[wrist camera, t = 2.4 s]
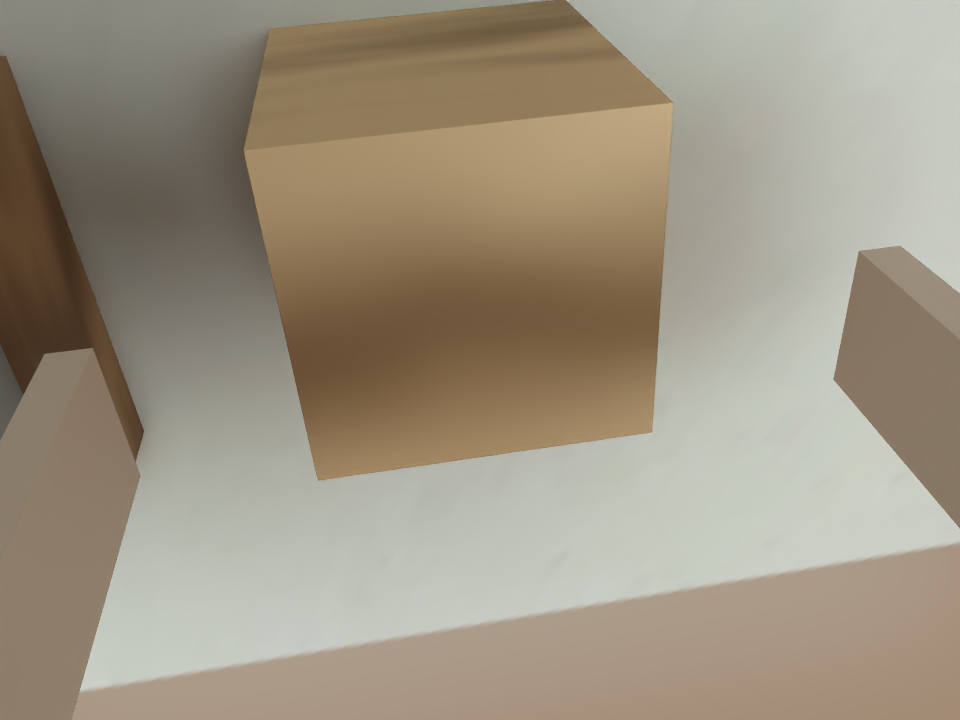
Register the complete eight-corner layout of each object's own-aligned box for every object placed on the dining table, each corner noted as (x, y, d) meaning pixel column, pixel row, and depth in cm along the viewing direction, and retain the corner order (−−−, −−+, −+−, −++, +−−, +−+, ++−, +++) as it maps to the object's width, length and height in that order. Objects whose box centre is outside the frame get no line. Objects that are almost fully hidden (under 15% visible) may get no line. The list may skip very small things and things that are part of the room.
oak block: (270, 28, 20) (243, 150, 14) (564, -1, 21) (673, 102, 14) (319, 288, 24) (317, 480, 18) (565, 257, 25) (652, 432, 18)
